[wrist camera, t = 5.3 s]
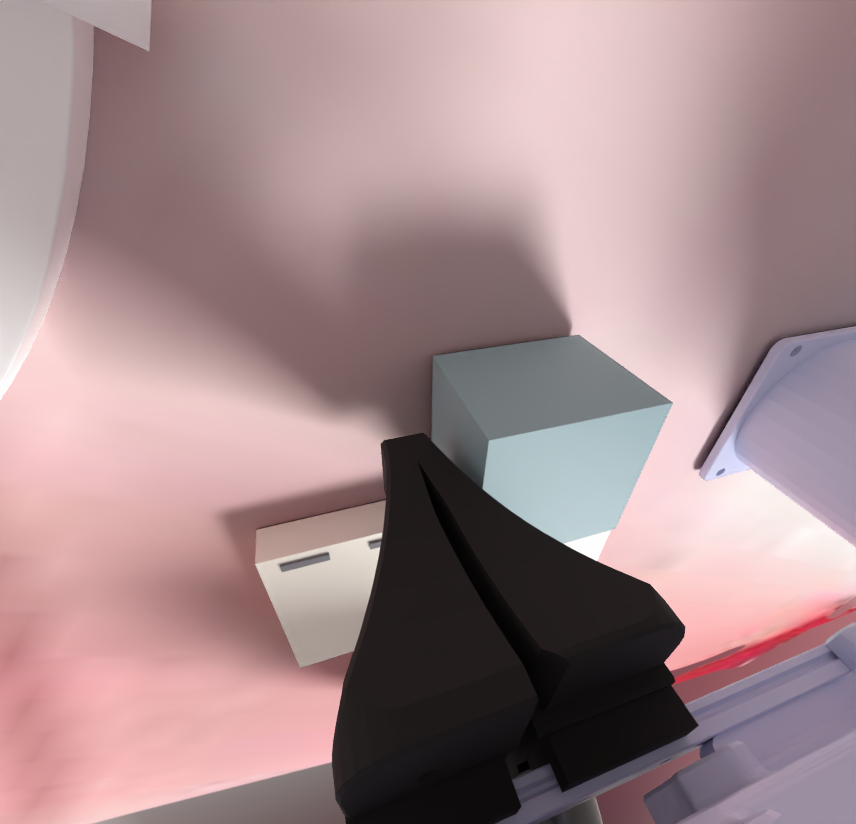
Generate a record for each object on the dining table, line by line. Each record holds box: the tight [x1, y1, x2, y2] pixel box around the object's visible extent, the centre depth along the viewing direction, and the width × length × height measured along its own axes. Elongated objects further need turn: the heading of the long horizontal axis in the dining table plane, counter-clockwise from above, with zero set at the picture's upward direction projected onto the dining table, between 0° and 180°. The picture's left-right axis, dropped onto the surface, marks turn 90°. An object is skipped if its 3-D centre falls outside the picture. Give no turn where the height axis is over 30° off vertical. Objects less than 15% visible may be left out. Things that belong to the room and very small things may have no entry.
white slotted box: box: [255, 500, 611, 668], centre depth 18 cm, size 15×8×2 cm, turn 89°
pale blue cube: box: [431, 335, 673, 544], centre depth 12 cm, size 5×5×4 cm
